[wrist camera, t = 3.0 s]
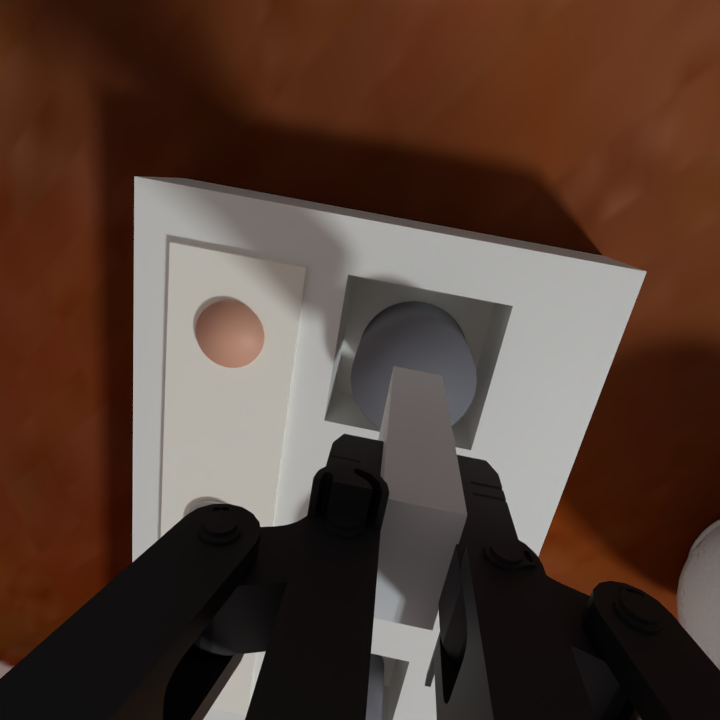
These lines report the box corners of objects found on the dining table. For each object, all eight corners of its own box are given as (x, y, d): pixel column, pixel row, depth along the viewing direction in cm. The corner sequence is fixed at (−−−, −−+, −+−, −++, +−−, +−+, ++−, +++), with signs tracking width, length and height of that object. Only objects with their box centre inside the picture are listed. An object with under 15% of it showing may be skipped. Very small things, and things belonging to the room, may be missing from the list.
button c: (391, 642, 25) (388, 700, 22) (376, 699, 27) (372, 759, 24) (309, 624, 25) (296, 679, 23) (298, 682, 27) (285, 740, 24)
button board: (602, 255, 20) (653, 273, 16) (447, 707, 30) (452, 792, 26) (184, 178, 21) (126, 175, 17) (165, 644, 31) (126, 718, 26)
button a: (479, 312, 19) (491, 335, 16) (453, 412, 20) (459, 448, 18) (369, 291, 19) (361, 309, 16) (351, 391, 21) (341, 424, 18)
